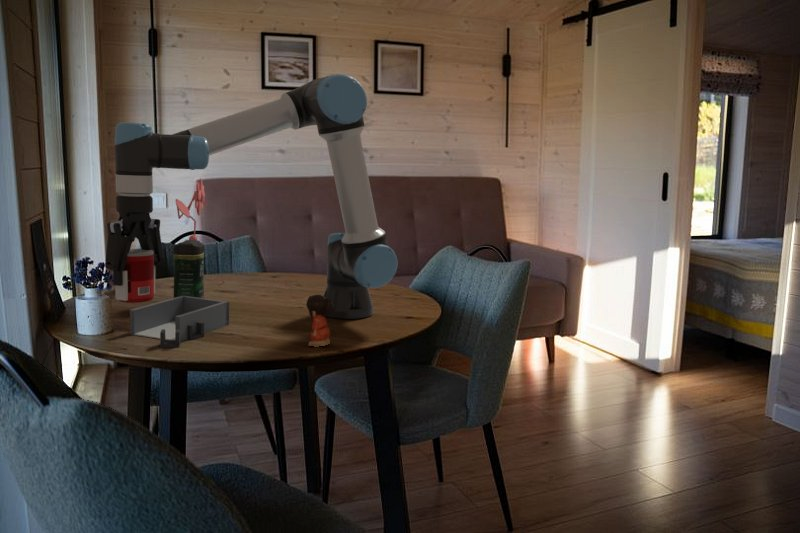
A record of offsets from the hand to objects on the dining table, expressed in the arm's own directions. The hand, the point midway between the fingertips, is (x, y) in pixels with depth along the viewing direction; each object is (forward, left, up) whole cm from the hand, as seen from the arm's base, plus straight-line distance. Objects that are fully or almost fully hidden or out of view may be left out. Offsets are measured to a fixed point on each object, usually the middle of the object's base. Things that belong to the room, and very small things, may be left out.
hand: (136, 296), depth 149 cm
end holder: (0, -15, -11) cm, 19 cm away
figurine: (-36, -20, -11) cm, 43 cm away
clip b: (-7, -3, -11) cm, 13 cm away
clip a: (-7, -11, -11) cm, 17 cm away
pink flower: (+33, -67, -11) cm, 75 cm away
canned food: (0, 0, -1) cm, 1 cm away
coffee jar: (+16, -39, -11) cm, 43 cm away
